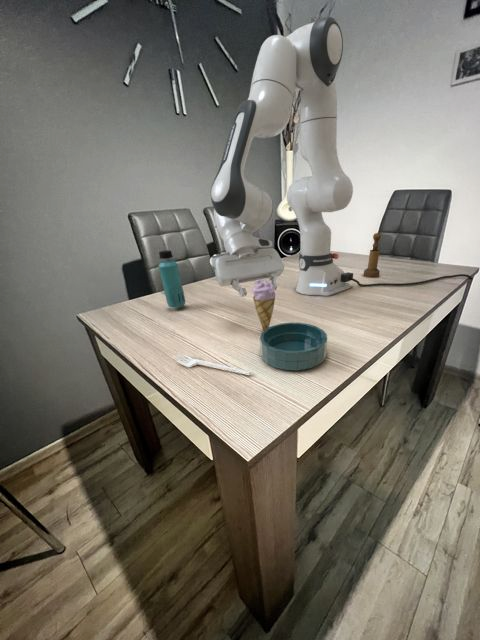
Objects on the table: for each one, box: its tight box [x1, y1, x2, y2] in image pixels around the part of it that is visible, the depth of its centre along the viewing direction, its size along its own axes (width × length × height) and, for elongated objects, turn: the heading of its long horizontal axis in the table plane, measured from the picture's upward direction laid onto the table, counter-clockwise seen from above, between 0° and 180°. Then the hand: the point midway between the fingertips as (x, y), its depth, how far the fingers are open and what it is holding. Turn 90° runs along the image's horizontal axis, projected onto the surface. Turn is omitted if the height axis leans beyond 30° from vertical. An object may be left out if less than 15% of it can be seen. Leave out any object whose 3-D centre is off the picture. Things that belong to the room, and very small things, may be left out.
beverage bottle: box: [158, 249, 186, 308], centre depth 94 cm, size 6×7×20 cm
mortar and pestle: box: [363, 232, 382, 279], centre depth 119 cm, size 7×6×18 cm
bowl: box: [259, 322, 328, 371], centre depth 65 cm, size 16×16×5 cm
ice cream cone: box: [252, 280, 277, 332], centre depth 76 cm, size 7×6×15 cm
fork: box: [172, 351, 251, 376], centre depth 63 cm, size 3×20×2 cm, turn 66°
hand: (259, 292), depth 76 cm, fingers open, 8 cm apart
